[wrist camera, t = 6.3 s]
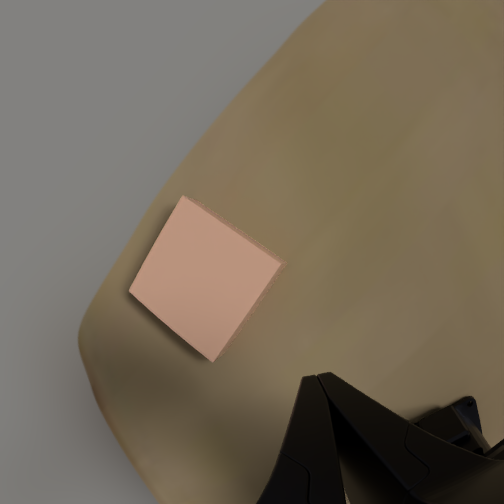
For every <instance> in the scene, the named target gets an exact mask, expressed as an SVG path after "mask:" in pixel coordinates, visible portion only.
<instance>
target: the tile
mask: <svg viewBox="0 0 504 504" xmlns="http://www.w3.org/2000/svg"><path fill="white" fill-rule="evenodd" d="M286 264H287V262H285V261H284V260H283V259H281V258H280V257H278V256H277V255H275V254H274V253H273V252H271V251H270V250H268V249H267V248H265V247H264V246H262V245H261V244H260V243H258V242H257V241H255V240H254V239H252V238H251V237H249V236H248V235H247V234H245V233H244V232H242V231H241V230H239V229H238V228H236V227H235V226H234V225H232V224H231V223H229V222H228V221H226V220H225V219H223V218H222V217H221V216H219V215H218V214H216V213H215V212H213V211H212V210H210V209H209V208H207V207H206V206H205V205H203V204H202V203H200V202H199V201H197V200H195V199H192V198H189V197H186V196H183V195H182V197H181V199H180V200H179V202H178V204H177V205H176V207H175V209H174V210H173V212H172V214H171V215H170V217H169V219H168V221H167V222H166V224H165V226H164V227H163V229H162V231H161V233H160V234H159V236H158V238H157V240H156V241H155V243H154V245H153V247H152V249H151V250H150V252H149V254H148V256H147V258H146V259H145V261H144V263H143V265H142V267H141V269H140V270H139V272H138V274H137V276H136V278H135V280H134V282H133V284H132V286H131V287H130V289H129V292H130V293H131V294H133V295H134V296H135V297H136V298H137V299H138V300H139V301H140V302H141V303H142V304H144V305H145V306H146V307H147V308H148V309H149V310H150V311H151V312H152V313H154V314H155V315H156V316H157V317H158V318H159V319H160V320H162V321H163V322H164V323H165V324H166V325H167V326H169V327H170V328H171V329H172V330H173V331H174V332H176V333H177V334H178V335H179V336H180V337H182V338H183V339H184V340H185V341H186V342H188V343H189V344H190V345H191V346H193V347H194V348H195V349H196V350H198V351H199V352H200V353H201V354H203V355H204V356H205V357H206V358H208V359H209V360H210V361H211V362H214V361H215V360H217V359H218V358H219V357H220V356H222V355H223V354H224V353H225V352H226V350H227V349H228V348H229V346H230V345H231V343H232V342H233V341H234V339H235V338H236V336H237V335H238V333H239V332H240V331H241V329H242V328H243V326H244V325H245V324H246V322H247V321H248V319H249V318H250V316H251V315H252V314H253V312H254V311H255V309H256V308H257V306H258V305H259V304H260V302H261V301H262V299H263V298H264V296H265V295H266V293H267V292H268V291H269V289H270V288H271V286H272V285H273V283H274V282H275V280H276V279H277V277H278V276H279V274H280V273H281V272H282V270H283V269H284V267H285V266H286Z"/></svg>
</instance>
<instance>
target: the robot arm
mask: <svg viewBox="0 0 504 504" xmlns="http://www.w3.org/2000/svg"><path fill="white" fill-rule="evenodd" d="M469 401H471V403H470V404H469V405H467V404H468V402H469ZM343 486H344V487H343ZM344 489H345V491H346V494H347V496H348V499H349V501H350V504H504V439H503V440H502V441H500V442H499V443H498V444H496V445H495V446H494V447H492V448H491V447H490V446H489V444H488V443H487V441H486V440H485V438H484V437H483V435H482V429H481V424H480V419H479V414H478V409H477V404H476V400H475V399H474V398H473V397H472V396H468V397H466V398H464V399H463V400H461V401H459V402H457V403H455V404H454V405H452V406H448V407H446V408H444V409H442V410H440V411H438V412H436V413H434V414H432V415H430V416H428V417H426V418H424V419H422V420H421V421H420V422H418V423H415V424H412V423H410V424H409V421H407V420H405V419H404V418H402V417H401V416H399V415H397V414H396V413H394V412H392V411H391V410H389V409H388V408H386V407H384V406H383V405H381V404H380V403H378V402H376V401H375V400H373V399H372V398H370V397H368V396H367V395H365V394H364V393H362V392H361V391H359V390H358V389H356V388H354V387H353V386H351V385H350V384H348V383H347V382H345V381H344V380H342V379H341V378H339V377H338V376H336V375H335V374H333V373H331V372H327V373H321V374H318V375H317V376H316V375H310V376H304V377H302V379H301V382H300V386H299V390H298V393H297V397H296V400H295V404H294V407H293V411H292V414H291V417H290V421H289V424H288V427H287V430H286V434H285V437H284V440H283V443H282V446H281V450H280V454H279V455H278V458H277V461H276V464H275V467H274V469H273V472H272V474H271V477H270V479H269V481H268V483H267V485H266V487H265V489H264V491H263V493H262V494H261V496H260V498H259V500H258V501H257V503H256V504H346V500H345V493H344Z"/></svg>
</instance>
